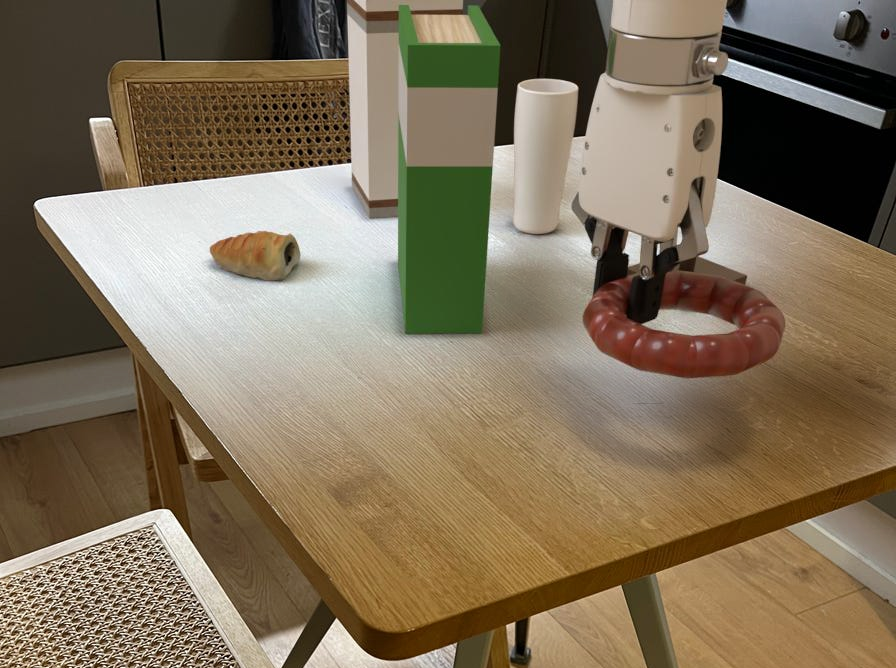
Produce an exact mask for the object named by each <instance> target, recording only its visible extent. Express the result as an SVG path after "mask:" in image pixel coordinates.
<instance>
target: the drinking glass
mask: <svg viewBox="0 0 896 668" xmlns="http://www.w3.org/2000/svg"><path fill="white" fill-rule="evenodd" d="M578 100H579V86H578V85H577V84H576V83H574V82H572V81H567V80H563V79H555V78H533V79H527V80H526V79H525V80H523V81H521V82H519V83H518V84H517V88H516V96H515V105H514V106H515V107H514V118H513V215H512V224H513V227H514V228H515V229H516V230H518V231H520V232H522V233H525V234H530V235H531V234H532V235H545V234H548V233H552V232H553V231H555V230H556V229H557V227H558V225H559V219H560V211H561V204H562V198H563V192H564V187H565V182H566V177H567V172H568V166H569V160H570V157H571V151H572V145H573V141H574V134H575V129H576V123H577V122H576V121H577V112H578V102H579V101H578Z"/></svg>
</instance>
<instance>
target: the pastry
mask: <svg viewBox="0 0 896 668" xmlns="http://www.w3.org/2000/svg"><path fill="white" fill-rule="evenodd" d="M209 253H210V255H211V257H212V259H213V261H214V263H215V265H217V266H218V267H219V268H220V269H224V270H225V271H227V272H231V273H233V274H238V275H243V276H244V277H247V278H253V279H255V278H260V279H261V280H264V281H275V280H276V281H278V280H284V279H285V278H287V276H288V275H289V274H291V273H290V272H291V271H292V269H293V267H295V265H297V264H298V263H299V262H300V261H301V251H300V246H299V244H298V241H297V239H296V237H295V236H294V235H293V234H292V233H288V234H287V235H286V234H285V235H283V234H280V233H277V232H273V231H267V230H258V231H256V232H245V233H243V234H237V235H236V236H229V237H226V238H223V239H220V240H217V241H216V242H215V243H213V244H212V245H211V246H209Z"/></svg>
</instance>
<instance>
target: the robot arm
mask: <svg viewBox="0 0 896 668" xmlns="http://www.w3.org/2000/svg"><path fill="white" fill-rule="evenodd" d="M727 3H728V0H612V6H611V7H612V9H611V18H610V27H609V35H608V44H607V52H606V61H605V62H606V63H605V70H604V73H602V74H600V76H599V79H598V82H597V85H596V88H595V92H594V96H593V101H592V103H591V107H590V112H589V116H588V121H587V124H586V131H585V137H584V143H583V149H582V154H581V160H580V169H579V180H578V191H577V192H576V195H575V197H574V198H573V200H572V202H571V205H570V206H571V211H572V212H573V213H574V215H575V216H576V217H577V219H578V220H579V222H580V223H581V224H582V226H584V230H585V233H586V235H587V236H588V239H589V241H590V243H591V246H590V247H591V248H590V254H591V255H590V256H591V257H592V259H594V260H595V261H596V264H595V265H596V266H595V272H594V282H593V288H592V289H593V290H592V297H591V299H592V298H593V296H594V295H595V293H596V292H597V290H598V289H599V288H600V287H601V286H603V285H604V284H606V283H609V282H612V281H615V280H618V279H621V278H623V277H626V276H627V271H628V267H629V263H630V254H628V253H626V252H624V251H625V249H626V246H627V241H628V237H629V232H630V233H633V234H636V235H638V236H640V238H641V239H640V251H639V253H640V254H639V263H640V266H639V274H640V275H638V276H635V277H633V279H632V281H631V288H630V295H629V302H628V311H627V315H626V317H627V318H628V319H631V320H633V321H635V322H637V323H640V324H642V325H644V324H646V323H649V322H651V321H654V320H656V319H657V317H658V315H659V311H660V310H659V309H660V305H661V299H662V293H663V287H664V281H665V275H666V273H668V272H671V271H672V270H673V269H674V267H676V266H677V265H678V264H680V263H681V262H682V261H684V260H687V259H691V258H694V257H697V256H699V257H701V256H703V255H705V254H707V253H708V252H709V249H710V244H709V240H708V235H707V234H708V233H707V230H706V228H707V227H708V226H709V223H710V220H711V217H712V213H713V208H714V201H715V196H716V189H717V183H718V174H719V166H720V158H721V146H722V134H723V133H722V132H723V96H722V94H723V93H722V87H721V86H718V85H716V84H713V83H714V77H715V76H721V75H723V74H724V73H725V71H726V69H727V67H728V63H729V55H728V53H727V52H724V51H720V43H721V38H722V32H723V31H722V30H723V26H724V21H725V20H724V19H725V14H726V10H727V5H728V4H727ZM679 228H680V232H681V241H680V242H679V244H678V232H679ZM658 246H659V252H658Z"/></svg>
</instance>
